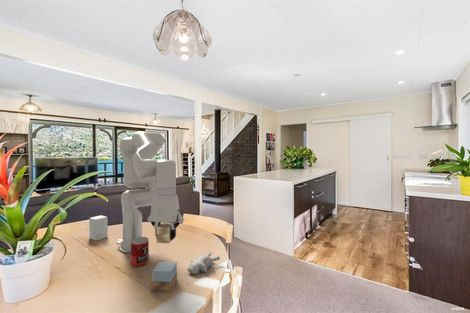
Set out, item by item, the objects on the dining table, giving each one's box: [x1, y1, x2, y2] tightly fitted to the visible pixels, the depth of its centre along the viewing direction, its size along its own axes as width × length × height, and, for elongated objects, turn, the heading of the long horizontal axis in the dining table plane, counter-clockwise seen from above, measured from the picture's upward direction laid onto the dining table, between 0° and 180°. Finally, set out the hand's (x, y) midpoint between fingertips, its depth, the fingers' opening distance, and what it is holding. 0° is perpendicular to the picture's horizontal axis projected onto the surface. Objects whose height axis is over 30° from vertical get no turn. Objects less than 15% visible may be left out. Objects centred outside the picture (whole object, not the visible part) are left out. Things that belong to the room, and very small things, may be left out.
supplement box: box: [89, 214, 109, 242], centre depth 138 cm, size 7×7×13 cm
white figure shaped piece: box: [187, 251, 221, 275], centre depth 103 cm, size 10×5×15 cm
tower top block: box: [151, 261, 178, 282], centre depth 88 cm, size 7×7×4 cm
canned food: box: [130, 236, 150, 268], centre depth 107 cm, size 8×8×11 cm
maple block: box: [155, 222, 173, 244], centre depth 88 cm, size 5×5×6 cm
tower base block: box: [150, 272, 178, 293], centre depth 88 cm, size 8×8×4 cm
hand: (165, 238), depth 88 cm, fingers closed on maple block, 5 cm apart
